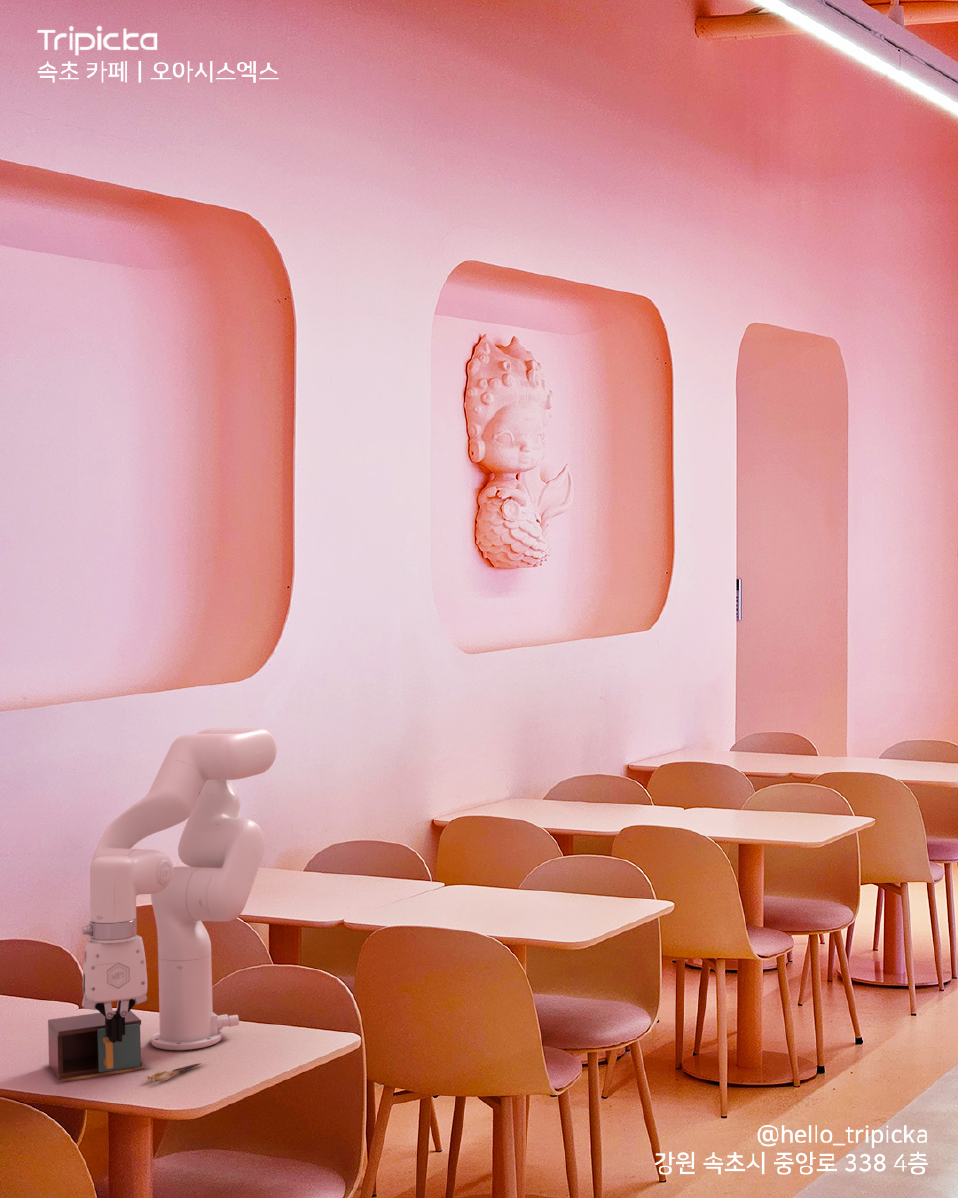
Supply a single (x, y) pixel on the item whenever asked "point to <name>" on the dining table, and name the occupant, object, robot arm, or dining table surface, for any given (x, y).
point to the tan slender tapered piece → (170, 1073)
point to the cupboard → (80, 1046)
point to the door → (119, 1050)
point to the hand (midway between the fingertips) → (115, 1040)
